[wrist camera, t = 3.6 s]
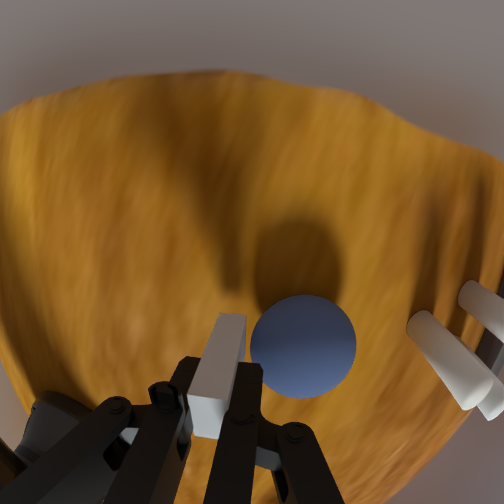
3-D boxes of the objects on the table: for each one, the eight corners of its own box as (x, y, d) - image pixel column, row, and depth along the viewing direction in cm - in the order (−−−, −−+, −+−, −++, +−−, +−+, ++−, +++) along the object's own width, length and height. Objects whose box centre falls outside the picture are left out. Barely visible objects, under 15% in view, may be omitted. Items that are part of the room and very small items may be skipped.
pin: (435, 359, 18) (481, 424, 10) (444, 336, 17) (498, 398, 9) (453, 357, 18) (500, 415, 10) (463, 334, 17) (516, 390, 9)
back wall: (458, 386, 19) (471, 404, 16) (511, 232, 15) (534, 241, 12) (470, 383, 19) (483, 400, 16) (521, 235, 15) (543, 243, 12)
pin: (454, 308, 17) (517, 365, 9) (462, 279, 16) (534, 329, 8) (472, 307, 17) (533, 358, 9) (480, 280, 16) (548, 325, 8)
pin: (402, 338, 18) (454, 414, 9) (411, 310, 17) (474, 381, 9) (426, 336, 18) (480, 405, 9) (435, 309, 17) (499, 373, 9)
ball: (246, 419, 13) (355, 415, 12) (247, 323, 11) (382, 322, 11) (251, 358, 18) (334, 358, 18) (253, 279, 17) (347, 280, 17)
